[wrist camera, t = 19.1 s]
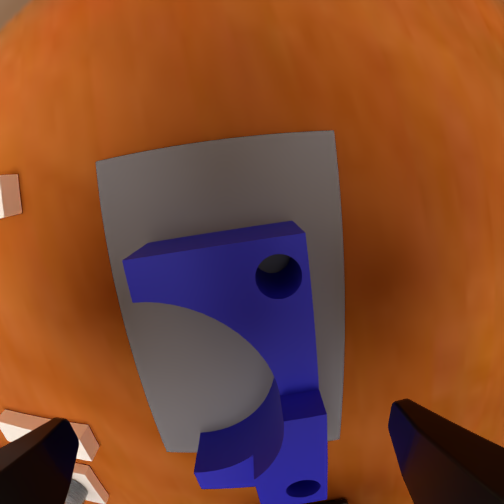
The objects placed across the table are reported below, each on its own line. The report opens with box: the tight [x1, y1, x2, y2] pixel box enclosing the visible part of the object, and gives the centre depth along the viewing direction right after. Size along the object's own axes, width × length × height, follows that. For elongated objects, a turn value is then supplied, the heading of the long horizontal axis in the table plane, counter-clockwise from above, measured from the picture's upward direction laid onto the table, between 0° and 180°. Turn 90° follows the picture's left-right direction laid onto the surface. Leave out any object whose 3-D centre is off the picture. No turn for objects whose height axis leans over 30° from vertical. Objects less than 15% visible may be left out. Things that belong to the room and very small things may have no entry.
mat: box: [96, 130, 345, 452], centre depth 14 cm, size 10×16×1 cm, turn 6°
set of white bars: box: [0, 174, 109, 504], centre depth 14 cm, size 8×24×2 cm, turn 6°
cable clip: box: [122, 221, 328, 504], centre depth 12 cm, size 12×4×6 cm
